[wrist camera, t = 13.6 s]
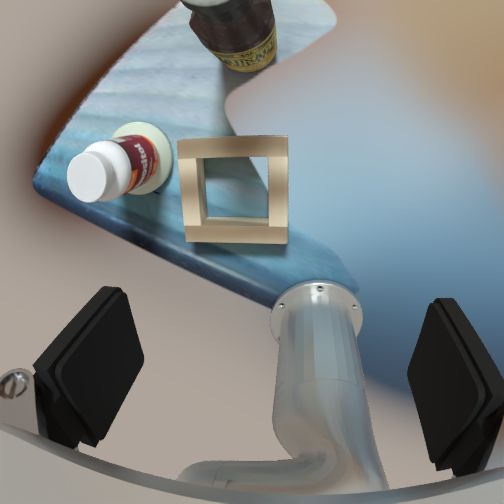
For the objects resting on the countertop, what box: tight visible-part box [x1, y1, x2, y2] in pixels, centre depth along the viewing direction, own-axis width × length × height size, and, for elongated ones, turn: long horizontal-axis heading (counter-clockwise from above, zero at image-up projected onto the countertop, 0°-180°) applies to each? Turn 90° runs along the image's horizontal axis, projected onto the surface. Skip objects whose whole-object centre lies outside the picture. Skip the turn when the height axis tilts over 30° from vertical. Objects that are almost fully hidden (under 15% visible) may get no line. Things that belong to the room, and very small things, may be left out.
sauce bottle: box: [180, 0, 277, 73], centre depth 20 cm, size 6×6×20 cm
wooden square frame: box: [177, 135, 288, 244], centre depth 35 cm, size 12×12×3 cm
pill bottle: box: [67, 134, 159, 202], centre depth 30 cm, size 6×6×11 cm
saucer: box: [110, 122, 173, 195], centre depth 36 cm, size 9×9×1 cm
